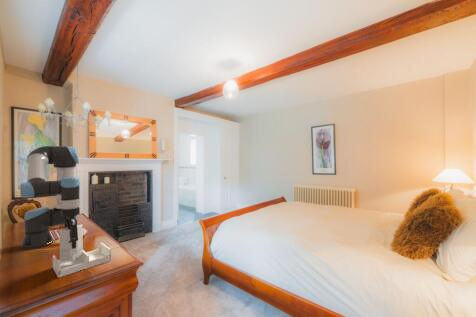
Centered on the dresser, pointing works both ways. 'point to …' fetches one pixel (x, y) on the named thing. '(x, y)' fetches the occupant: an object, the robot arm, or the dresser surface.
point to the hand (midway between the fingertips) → (70, 251)
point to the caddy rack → (82, 261)
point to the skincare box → (66, 245)
